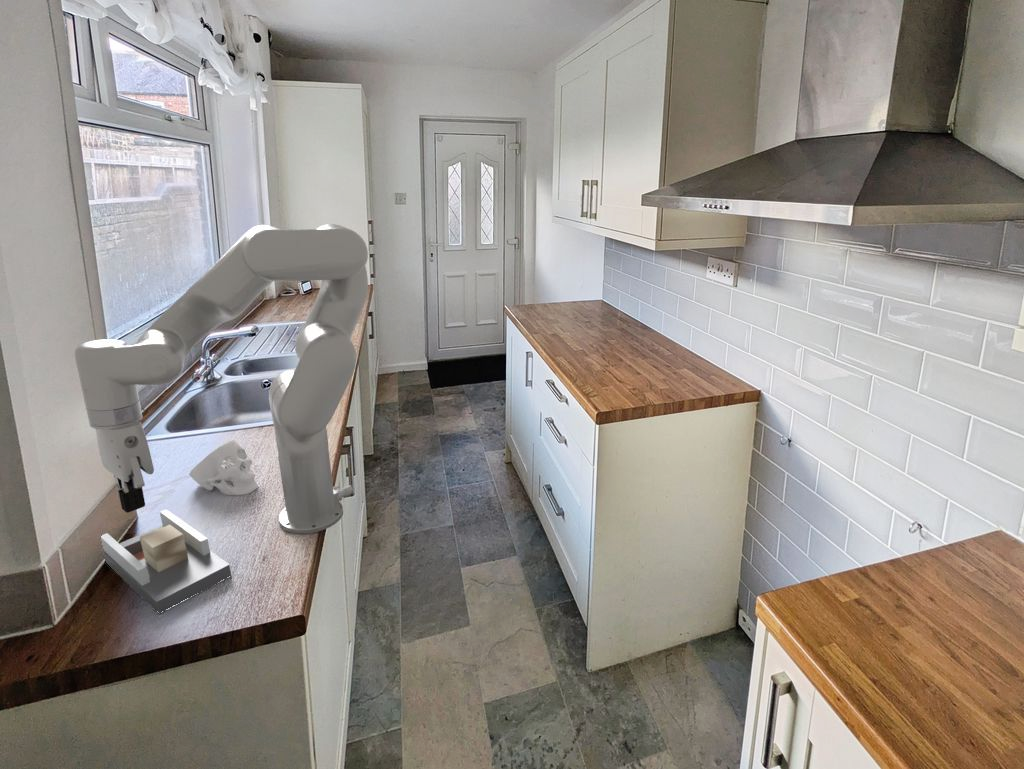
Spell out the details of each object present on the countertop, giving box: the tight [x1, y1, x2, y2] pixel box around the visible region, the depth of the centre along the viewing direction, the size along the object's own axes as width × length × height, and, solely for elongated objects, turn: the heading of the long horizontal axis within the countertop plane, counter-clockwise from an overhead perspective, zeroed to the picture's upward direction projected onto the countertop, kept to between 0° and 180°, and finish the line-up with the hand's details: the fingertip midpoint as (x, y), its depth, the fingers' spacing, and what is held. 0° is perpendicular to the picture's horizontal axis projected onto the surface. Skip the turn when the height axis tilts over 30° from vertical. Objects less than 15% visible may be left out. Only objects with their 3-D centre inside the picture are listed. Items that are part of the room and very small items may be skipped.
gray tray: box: [100, 508, 232, 614], centre depth 104 cm, size 22×12×6 cm, turn 53°
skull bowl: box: [188, 438, 259, 496], centre depth 132 cm, size 10×14×12 cm
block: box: [140, 524, 188, 572], centre depth 102 cm, size 5×5×5 cm
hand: (134, 508), depth 104 cm, fingers closed
